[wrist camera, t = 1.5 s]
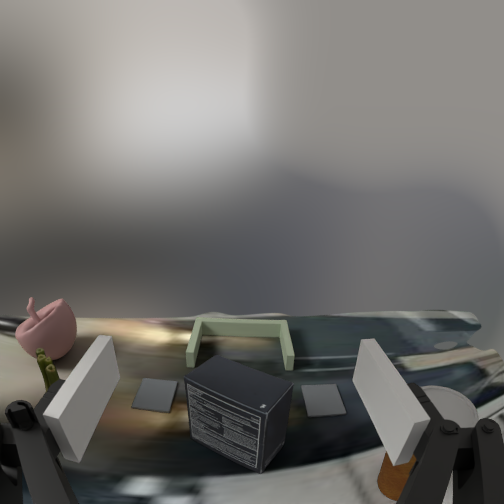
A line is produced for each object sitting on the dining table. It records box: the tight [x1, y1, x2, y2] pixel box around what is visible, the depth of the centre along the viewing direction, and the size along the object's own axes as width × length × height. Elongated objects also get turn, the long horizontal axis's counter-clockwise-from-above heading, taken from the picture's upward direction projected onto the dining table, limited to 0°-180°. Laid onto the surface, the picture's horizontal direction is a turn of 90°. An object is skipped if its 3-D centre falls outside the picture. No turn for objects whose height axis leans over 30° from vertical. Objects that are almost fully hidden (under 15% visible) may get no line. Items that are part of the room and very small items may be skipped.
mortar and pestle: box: [16, 297, 77, 360], centre depth 46 cm, size 12×12×11 cm
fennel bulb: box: [36, 348, 59, 392], centre depth 31 cm, size 6×5×12 cm
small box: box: [184, 355, 294, 474], centre depth 34 cm, size 11×6×10 cm, turn 59°
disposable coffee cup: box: [377, 386, 478, 501], centre depth 25 cm, size 10×10×12 cm
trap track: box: [131, 317, 346, 417], centre depth 50 cm, size 30×24×3 cm
